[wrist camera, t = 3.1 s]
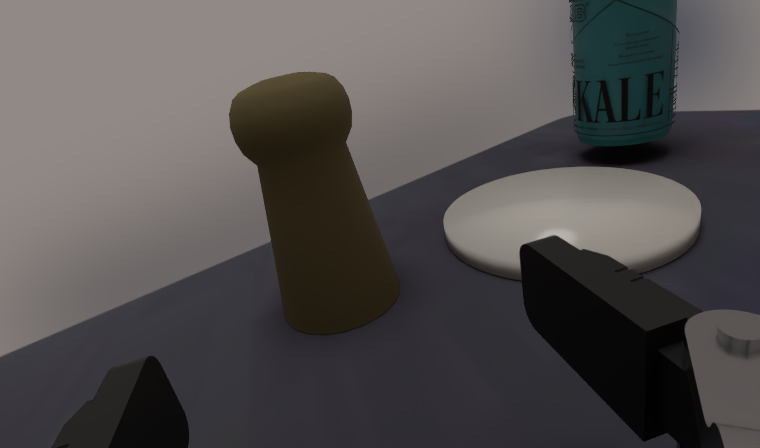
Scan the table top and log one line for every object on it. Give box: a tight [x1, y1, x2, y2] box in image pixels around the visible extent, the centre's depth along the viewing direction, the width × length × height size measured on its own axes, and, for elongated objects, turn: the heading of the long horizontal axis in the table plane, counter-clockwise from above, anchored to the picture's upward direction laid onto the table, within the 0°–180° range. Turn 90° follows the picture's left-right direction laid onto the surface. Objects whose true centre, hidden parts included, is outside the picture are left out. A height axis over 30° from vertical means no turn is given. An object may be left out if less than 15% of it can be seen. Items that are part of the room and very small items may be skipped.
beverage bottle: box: [569, 0, 679, 146], centre depth 30 cm, size 6×7×20 cm
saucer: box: [444, 167, 701, 281], centre depth 25 cm, size 13×13×1 cm
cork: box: [229, 72, 400, 335], centre depth 21 cm, size 6×6×11 cm
